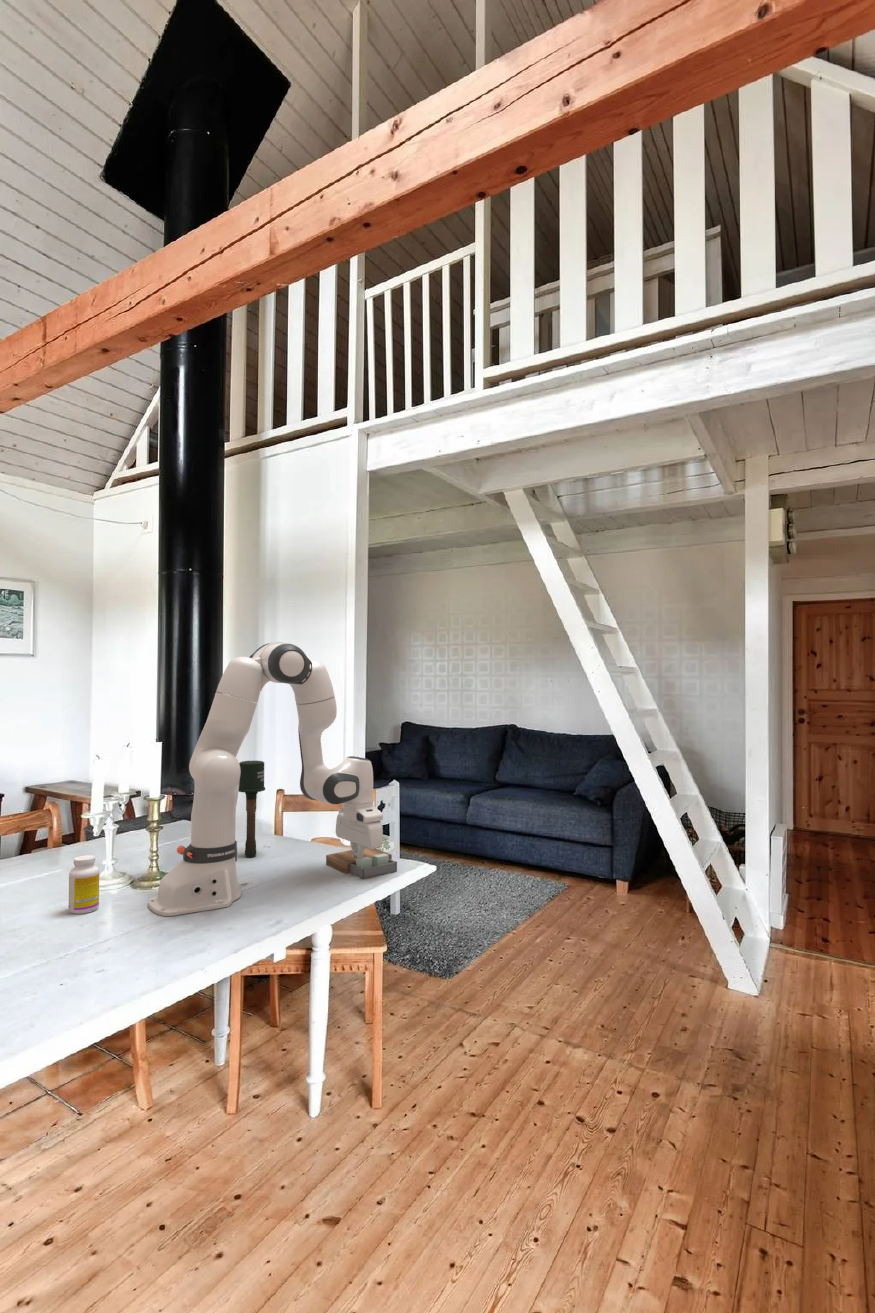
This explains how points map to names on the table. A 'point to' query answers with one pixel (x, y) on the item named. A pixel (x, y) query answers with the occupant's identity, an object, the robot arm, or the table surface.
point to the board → (349, 859)
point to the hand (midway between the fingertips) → (357, 858)
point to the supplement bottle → (84, 885)
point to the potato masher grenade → (251, 798)
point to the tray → (373, 870)
